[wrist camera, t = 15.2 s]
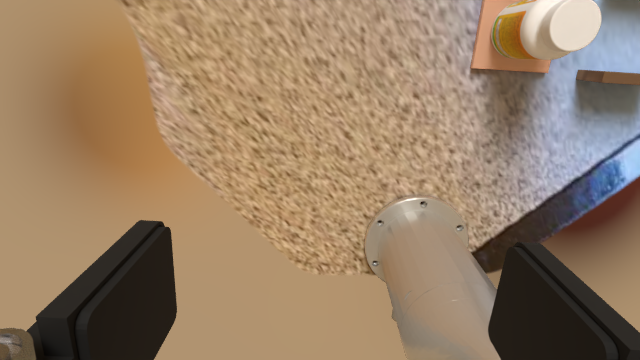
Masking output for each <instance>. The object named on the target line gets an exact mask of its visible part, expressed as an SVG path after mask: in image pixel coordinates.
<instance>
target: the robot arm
mask: <svg viewBox="0 0 640 360" xmlns="http://www.w3.org/2000/svg"><path fill="white" fill-rule="evenodd" d="M422 201H424V202H423V203H421V202H422ZM379 220H381V221H380V222H378V221H379ZM458 225H459V226H458ZM468 244H469V237H468V230H467V227H466V225H465V222H464V221H463V219H462V217H461V216H460V215H459V213H458V212H457V211H456V210H455V209H454V208H453V207H452V206H450V205H449V204H448V203H446V202H444V201H442V200H440V199H437V198H434V197H431V196H422V195H417V196H408V197H404V198H400V199H398V200H396V201H393V202H391V203H389V204H388V205H387V206H385V207H384V208H382V209H381V210H380V211H379V212H378V213H377V214H376V215H375V216H374V218H373V219H372V221H371V222H370V224H369V226H368V228H367V231H366V235H365V239H364V249H365V254H366V258H367V261H368V264H369V266H370V267H371V269H372V271H373V272H374V273H375V274H376V275H377V276H378V277H379V278H380V279H382V280H383V281H384V282H386V284H387V288H388V291H389V295H390V299H391V303H392V306H393V312H392V318H393V320H395V321H396V322H397V325H398V329H399V332H400V337H401V341H402V345H403V348H404V352H405V355H406V357H407V360H640V333H639V332H638V331H637V330H636V329H635V328H634V327H633V326H632V325H631V324H629V323H628V322H627V321H626V320H625V319H624V318H623V317H622V316H621V315H619V314H618V313H617V312H616V311H615V310H614V309H613V308H612V307H610V306H609V305H608V304H607V303H606V302H605V301H604V300H603V299H602V298H601V297H599V296H598V295H597V294H596V293H595V292H594V291H593V290H592V289H591V288H589V287H588V286H587V285H586V284H585V283H584V282H583V281H582V280H580V279H579V278H578V277H577V276H576V275H575V274H574V273H573V272H572V271H570V270H569V269H568V268H567V267H566V266H565V265H564V264H563V263H562V262H560V261H559V260H558V259H557V258H556V257H555V256H554V255H553V254H552V253H550V252H549V251H548V250H547V249H546V248H545V247H544V246H543V245H541V244H539V243H522V242H517V243H516V244H515V245H514V246H513V247H510V248H509V249H508V250H507V253H506V257H505V261H504V265H503V269H502V273H501V278H500V282H499V285H498V289H496V288H495V286H494V285H493V283H492V282H491V280H490V279H489V278H488V276H487V275H486V273H485V272H484V271H483V269H482V268H481V267H480V265H479V264H478V262H477V261H476V260H475V258H474V257H473V255H472V254H471V253H470V251H469V250H468ZM176 313H177V306H176V292H175V279H174V266H173V253H172V240H171V230H170V228H169V227H165V226H164V224H163V222H161V221H144V220H140V221H138V222H137V223H136V224H135V225H134V226H133V227H132V228H131V229H130V230H128V231H127V232H126V233H125V234H124V235H123V236H122V237H121V238H120V239H119V240H118V241H117V242H116V243H114V245H112V246H111V247H110V248H109V249H108V250H107V251H106V252H105V253H104V254H103V255H102V256H100V257H99V258H98V260H96V261H95V262H94V263H93V264H92V265H91V266H90V267H89V268H88V269H87V270H85V271H84V272H83V273H82V274H81V275H80V276H79V277H78V278H77V279H76V280H75V281H74V282H73V283H72V284H70V285H69V286H68V287H67V288H66V289H65V290H64V291H63V292H62V293H61V294H60V295H59V296H57V298H55V299H54V300H53V301H52V302H51V303H50V304H49V305H48V306H47V307H46V308H45V309H44V310H42V311H41V312H40V313H39V314H38V315H37V316H36V320H37V322H35V323H34V324H33V325H32V326H31V327H30V328H29V329H28V330H27V331H25V330H23V329H16V328H4V329H0V360H154V358H155V357H156V354H157V353H158V351H159V349H160V347H161V345H162V344H163V342H164V340H165V338H166V336H167V335H168V333H169V331H170V329H171V327H172V325H173V323H174V321H175V318H176Z"/></svg>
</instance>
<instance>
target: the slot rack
mask: <svg viewBox="0 0 640 360" xmlns="http://www.w3.org/2000/svg"><path fill="white" fill-rule="evenodd" d="M576 79H577V80H585V81H593V82H601V83H617V84H633V85H640V74H638V73H622V72H606V71H590V70H578V73H577V77H576Z"/></svg>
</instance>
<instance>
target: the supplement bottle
mask: <svg viewBox="0 0 640 360" xmlns="http://www.w3.org/2000/svg"><path fill="white" fill-rule="evenodd" d="M600 25H601V12H600V9H599V7H598V6H597V4H596V3H595V2H594V1H592V0H523V1H519V2H516V3H513V4H511V5H509V6H507V7H506V8H504V9H503V10H502V11H501V12H500V13H499V14H498V16H497V17H496V19H495V21H494V23H493V26H492V30H491V40H492V43H493V46H494V48H495V49H496V50H497V52H498V53H500V54H501V55H503V56H505V57H508V58H513V59H537V60H553V59H557V58H561V57H563V56H565V55H567V54H569V53H570V52H573V51H577V50H580V49H582V48H584V47H586V46H587V45H588V44H589V43H591V42H592V40H593V39H594V38H595V37H596V35H597V33H598V31H599V29H600Z"/></svg>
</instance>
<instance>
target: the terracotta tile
mask: <svg viewBox="0 0 640 360" xmlns="http://www.w3.org/2000/svg"><path fill="white" fill-rule="evenodd" d="M519 1H523V0H483V1H482V7H481V12H480V18H479V23H478V29H477V34H476V40H475V45H474V51H473V56H472V62H471V67H470V68H478V69H494V70H510V71H526V72H542V73H548V70H549V66H550V62H551V60H537V59H513V58H508V57H505V56H503V55H501V54H500V53H498V52H497V50H496V49H495V48H494V46H493V43H492V40H491V30H492V26H493V23H494V21H495V19H496V17H497V16H498V14H499V13H500V12H501V11H502V10H503V9H504V8H506V7H507V6H509V5H511V4H513V3H516V2H519Z"/></svg>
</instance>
